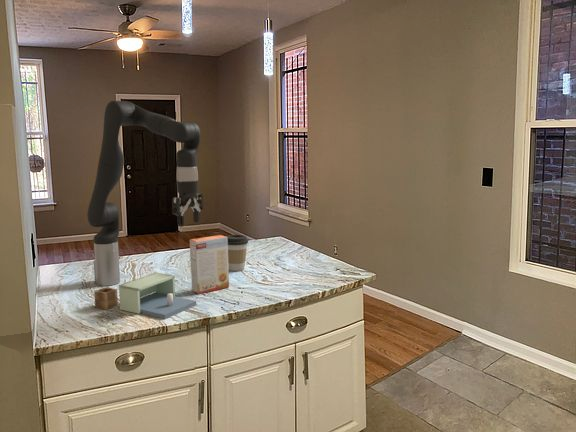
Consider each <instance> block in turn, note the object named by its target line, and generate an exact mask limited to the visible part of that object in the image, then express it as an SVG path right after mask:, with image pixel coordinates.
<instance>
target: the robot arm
mask: <svg viewBox="0 0 576 432" xmlns="http://www.w3.org/2000/svg"><path fill="white" fill-rule="evenodd" d="M103 115H104V116H103V130H102V140H101V141H102V142H101V146H100V147H101V148H100V153H99V158H98V162H97V169H96V170H97V171H96V176H95V182H94V186H93V191H92V194H91V198H90V200H89V205H88V208H87V215H86V216H87V221H88V223H89V225H90V226H91V227H93V228H101V229H100V230H99V231H98V232H97V233H96V234H94V236H93V247H94V248H93V249H94V251H93V252H94V260H93V274H94V283H95V284H97V286H103V287H108V286H113V285H119V283H120V282H121V276H120V275H121V273H120V257H119V255H120V254H119V253H120V252H119V234H120V214H119V208H118V207H117V205H116V204H115V203H113V202H110V201H108V197H109V196H110V194H111V193H112V191H113V189H114V188H115V187H116V185H117V184H118V183H119V181H120V179H121V177H122V175H123V170H124V166H125V156H124V153H123V151H122V147H121V145H120V141H119V136H120V130H121V127H128V126H129V127H130V126H136V127H137V126H138V127H144V128H146V129H147V130H148V131H150V132H151V133H154V134H156V135H160V136H163V137H166V138H167V139H170V140H171V141H173V142H174V143H175V142H176V143H181V144H182V143H184V144H183V146H182V148H181V149H179V150H177V152H176V192H177V193H178V197H172V199H171V200H172V203H171V205H172V206H171V213H172V215H175V216H176V221H177V222H176V223H177V226H178V227H184V226H185V216H184V214H185V212H186V211H187V209H189V208H191V210H192V211H193V217H192V218H193V223H197V224H198V223H200V220H201V219H200V218H201V217H200V216H201V214H200V213H201V211H203V210H204V208H205V207H204V195H203V194H202V193H198V192H199V172H198V160H197V156H198V152H199V147H200V142H201V129H200V127H199V125H198V124H197V123H195V122H191V121H190V122H189V121H187V122H185V121H177V120H176V119H174V118H173V117H170V116H167V115H163V114H159V113H156V112H152V111H149V110H146V109H145V108H143V107H141V106H139V105H136V104H135V103H133V102H131V101H128V100H125V101H124V100H111V101H109V102H108V103H107V105H106V106H105V110H104V114H103ZM107 201H108V202H107Z"/></svg>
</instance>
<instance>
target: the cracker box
mask: <svg viewBox="0 0 576 432" xmlns="http://www.w3.org/2000/svg"><path fill="white" fill-rule="evenodd" d="M189 253H190V254H189V257H190V258H189V259H190V274H191V275H190V276H191V277H190V279H191V291H193V292H194V293H196V294H197V295H200V294H205V293H209V292H214V291H218V290H223V289H227V288H230V276H229V275H230V274H229V273H230V272H229V271H230V270H229V268H228V239H227V237H226V236H224V235H222V234H217V235H212V236H205V237H198V238H191V239H189Z"/></svg>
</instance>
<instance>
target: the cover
mask: <svg viewBox="0 0 576 432" xmlns="http://www.w3.org/2000/svg"><path fill="white" fill-rule="evenodd" d="M118 291H119V292H118V295H119V309H120V310H121V311H125V312H128V313H129V312H130V313H134V314H142V313H141V312H140V298H142V297H144V296H147V295H149V294H152V293H155V292H156V293H161V294H166V295H167V294H169V293H172V294H173V296H175V297H176V285H175V275H171V274H167V273H160V272H154V273H150V274H147V275H144V276H142V277H139V278H136V279H132V280H129V281H128V282H125V283H120V284H118Z"/></svg>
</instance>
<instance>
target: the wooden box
mask: <svg viewBox="0 0 576 432" xmlns="http://www.w3.org/2000/svg"><path fill="white" fill-rule="evenodd" d="M93 292H94V305H95V306H94V307H95V308H96V309H100V310H104V311H107V310H110V309H112V308H115V307H118V306H119V303H118V301H119V300H118V289H117V288H111V287H108V286H104V287H102V288H100V289H97V290H95V291H93Z"/></svg>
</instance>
